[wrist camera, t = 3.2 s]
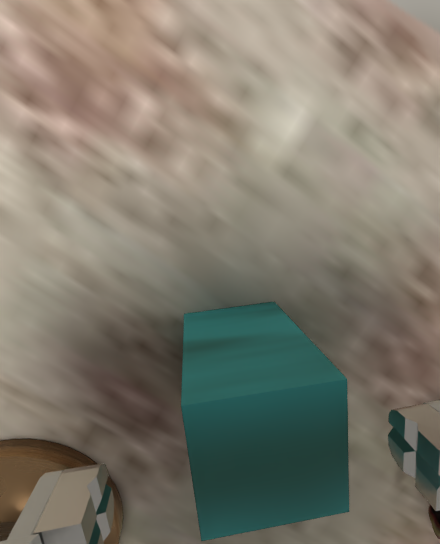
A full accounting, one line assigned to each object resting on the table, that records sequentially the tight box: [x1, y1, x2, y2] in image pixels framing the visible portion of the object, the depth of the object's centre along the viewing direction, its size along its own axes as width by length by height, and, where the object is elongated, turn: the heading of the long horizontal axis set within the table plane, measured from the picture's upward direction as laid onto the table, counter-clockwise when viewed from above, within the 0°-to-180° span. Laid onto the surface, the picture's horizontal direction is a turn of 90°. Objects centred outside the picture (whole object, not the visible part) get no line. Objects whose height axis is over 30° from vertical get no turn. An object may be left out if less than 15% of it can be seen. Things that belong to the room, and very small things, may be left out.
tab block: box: [181, 302, 349, 541], centre depth 12 cm, size 4×4×7 cm
